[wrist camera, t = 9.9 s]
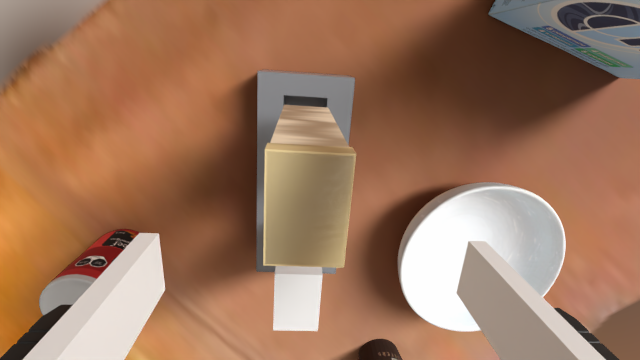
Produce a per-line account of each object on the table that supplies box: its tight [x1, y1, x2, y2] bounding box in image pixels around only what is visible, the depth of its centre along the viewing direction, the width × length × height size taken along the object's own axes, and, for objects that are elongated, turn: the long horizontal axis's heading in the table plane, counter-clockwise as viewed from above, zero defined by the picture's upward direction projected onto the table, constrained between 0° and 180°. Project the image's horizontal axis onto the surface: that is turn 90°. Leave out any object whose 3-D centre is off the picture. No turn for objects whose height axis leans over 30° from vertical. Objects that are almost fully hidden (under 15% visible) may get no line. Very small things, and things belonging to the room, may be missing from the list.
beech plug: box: [263, 105, 356, 268], centre depth 24 cm, size 4×6×16 cm
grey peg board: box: [256, 70, 355, 274], centre depth 41 cm, size 10×24×5 cm, turn 176°
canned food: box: [39, 229, 139, 315], centre depth 41 cm, size 8×8×11 cm
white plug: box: [273, 266, 323, 331], centre depth 37 cm, size 4×6×16 cm, turn 176°
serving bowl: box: [398, 182, 566, 331], centre depth 45 cm, size 21×21×7 cm
